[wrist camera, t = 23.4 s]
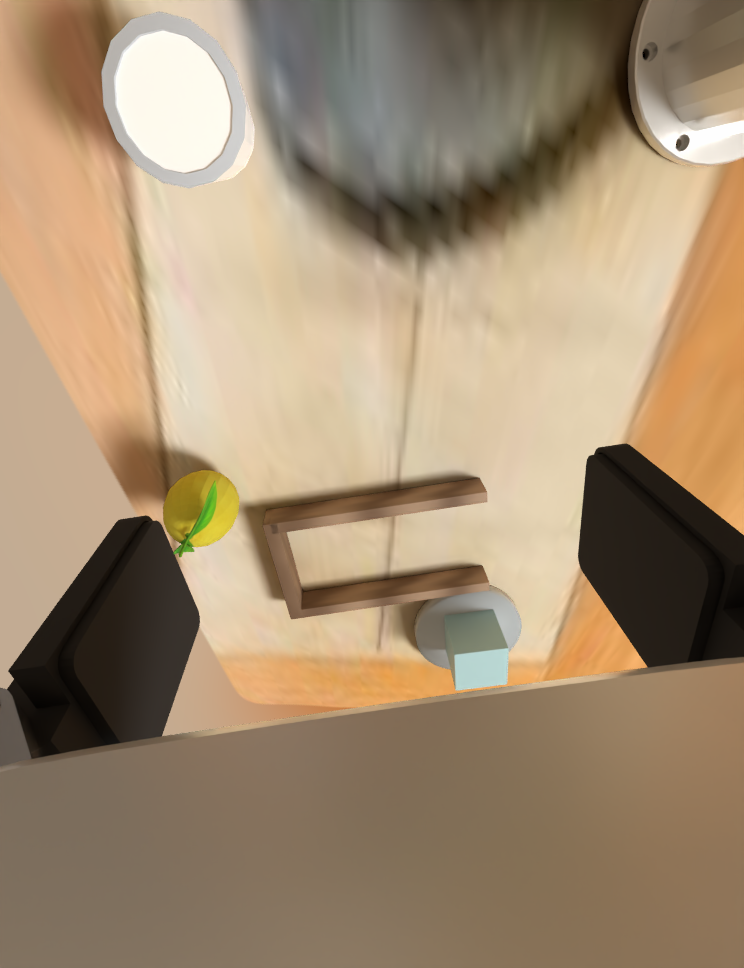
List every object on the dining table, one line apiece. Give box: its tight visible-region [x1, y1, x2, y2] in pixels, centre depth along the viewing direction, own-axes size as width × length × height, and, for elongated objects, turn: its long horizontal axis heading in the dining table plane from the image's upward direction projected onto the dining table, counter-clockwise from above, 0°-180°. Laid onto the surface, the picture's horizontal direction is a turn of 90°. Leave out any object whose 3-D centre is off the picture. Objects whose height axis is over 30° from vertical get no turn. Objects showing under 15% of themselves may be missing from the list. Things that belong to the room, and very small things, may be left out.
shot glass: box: [101, 12, 255, 188], centre depth 27 cm, size 7×7×7 cm
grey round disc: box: [414, 585, 521, 669], centre depth 51 cm, size 11×11×2 cm
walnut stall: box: [263, 478, 489, 619], centre depth 45 cm, size 19×11×2 cm, turn 98°
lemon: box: [163, 470, 239, 557], centre depth 37 cm, size 7×6×10 cm
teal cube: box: [444, 609, 509, 690], centre depth 48 cm, size 5×5×5 cm
